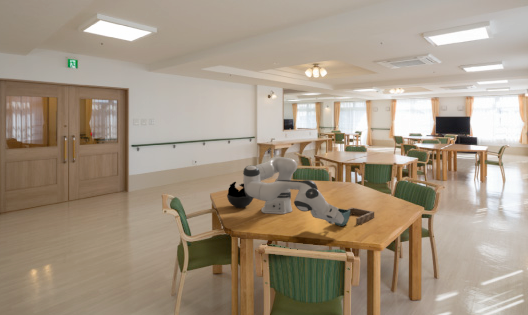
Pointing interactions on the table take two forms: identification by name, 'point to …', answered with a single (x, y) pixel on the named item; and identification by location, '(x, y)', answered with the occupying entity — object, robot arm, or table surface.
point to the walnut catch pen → (361, 215)
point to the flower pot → (346, 216)
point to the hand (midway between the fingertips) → (331, 222)
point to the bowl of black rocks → (238, 196)
